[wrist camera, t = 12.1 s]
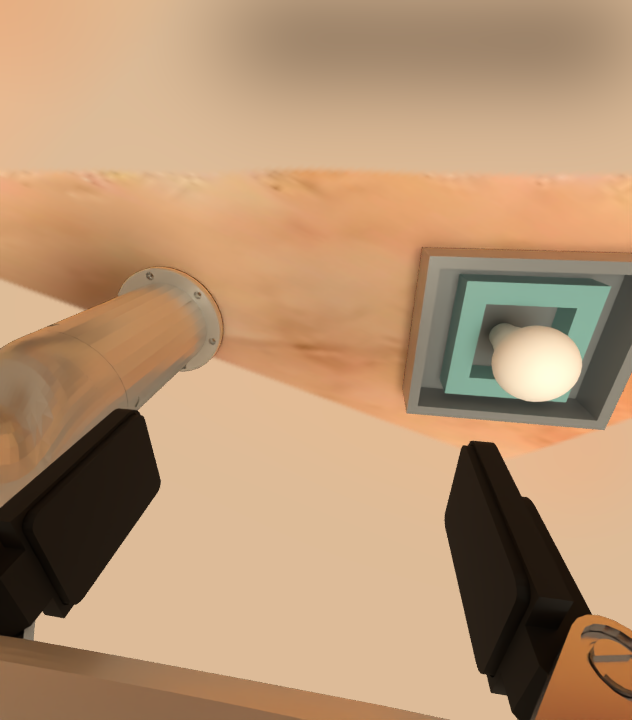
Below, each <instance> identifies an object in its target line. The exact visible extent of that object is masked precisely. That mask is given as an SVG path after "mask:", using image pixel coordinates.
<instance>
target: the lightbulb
mask: <svg viewBox="0 0 632 720" xmlns="http://www.w3.org/2000/svg"><path fill="white" fill-rule="evenodd" d="M489 340H490V342H491V343H492V345H493V349H494V353H493V356H492V363H491V365H492V371H493V375H494V377H495V380H496V381H497V382H498V384H499V385H500V386H501V388H502V389H504V390H505V391H506V392H507V393H509V394H510V395H512V396H514V397H516V398H519V399H522V400H525V401H531V402H542V401H549V400H552V399H555V398H558V397H560V396H562V395H564V394H565V393H566V392H568V391H569V390H570V389H571V388H572V387H573V386H574V385H575V383H576V382H577V381H578V378H579V376H580V373H581V369H582V358H581V355H580V352H579V349H578V347H577V346H576V344H575V343H574V342H573V340H572V339H571V338H569V337H568V336H567V335H566V334H564V333H562V332H561V331H559V330H557V329H554V328H551V327H546V326H527V327H523V328H520V327H515V326H513V325H511V324H508V323H501V324H498V325H496V326H495V327H493V328H492V330H491V331H490V334H489Z"/></svg>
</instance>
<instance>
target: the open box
mask: <svg viewBox="0 0 632 720" xmlns="http://www.w3.org/2000/svg"><path fill="white" fill-rule="evenodd" d="M501 323H508V324H511V325H513V326H515V327H520V328H523V327H527V326H546V327H551V328H554V329H557V330H559V331H561V332H562V333H564V334H566V335H567V336H568V337H569V338H571V339H572V340H573V342H574V343H575V344H576V346H577V347H578V349H579V352H580V355H581V358H582V369H581V373H580V376H579V378H578V381H577V382H576V383H575V385H574V386H573V387H572V388H571V389H570V390H569V391H568V392H566V393H565V394H564V395H562V396H560V397H558V398H555V399H552V400H549V401H542V402H531V401H525V400H522V399H519V398H516V397H514V396H512V395H510V394H509V393H507V392H506V391H505V390H504V389H502V388H501V386H500V385H499V384H498V382H497V381H496V380H495V377H494V375H493V371H492V365H491V363H492V356H493V353H494V349H493V345H492V343H491V342H490V340H489V334H490V331H491V330H492V328H493V327H495V326H496V325H498V324H501ZM631 373H632V253H615V252H577V251H540V250H503V249H465V248H428V247H422V251H421V258H420V265H419V273H418V280H417V287H416V295H415V302H414V309H413V316H412V324H411V331H410V338H409V345H408V353H407V360H406V367H405V374H404V382H403V395H404V401H405V407H406V413H409V414H421V415H433V416H445V417H456V418H468V419H480V420H492V421H504V422H516V423H527V424H539V425H551V426H563V427H575V428H586V429H598V430H605V428H606V426H607V424H608V422H609V419H610V417H611V415H612V413H613V411H614V409H615V407H616V405H617V402H618V400H619V398H620V396H621V394H622V392H623V390H624V388H625V385H626V383H627V381H628V379H629V377H630V375H631Z"/></svg>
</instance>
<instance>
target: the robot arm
mask: <svg viewBox="0 0 632 720" xmlns="http://www.w3.org/2000/svg"><path fill="white" fill-rule="evenodd" d="M199 292H200V294H201V295H200V294H199ZM222 336H223V324H222V319H221V314H220V312H219V309H218V307H217V305H216V303H215V301H214V300H213V298H212V296H211V295H210V294H209V292H208V291H207V290H206V289H205V288H204V287H203V286H202V285H201V284H200V283H199V282H198V281H196V280H195V279H194V278H192V277H191V276H189V275H187V274H186V273H183V272H181V271H178V270H176V269H172V268H167V267H152V268H147V269H144V270H141V271H139V272H136V273H135V274H133V275H131V276H130V277H129V278H128V279H127V280H126V281H125V282H124V283H123V284H122V286H121V288H120V290H119V292H118V296H117V297H116V298H114V299H111V300H109V301H107V302H104V303H102V304H100V305H97V306H95V307H92V308H90V309H88V310H85V311H83V312H81V313H78V314H76V315H74V316H71V317H69V318H66V319H64V320H61V321H59V322H57V323H54V324H52V325H50V326H47V327H45V328H43V329H40V330H38V331H36V332H33V333H30V334H28V335H26V336H23V337H21V338H18V339H16V340H14V341H12V342H10V343H8V344H7V345H5V346H3V347H2V348H0V720H448V719H443V718H438V717H434V716H429V715H424V714H420V713H415V712H410V711H406V710H401V709H396V708H391V707H387V706H382V705H377V704H371V703H366V702H361V701H356V700H351V699H345V698H340V697H335V696H330V695H325V694H319V693H314V692H309V691H303V690H298V689H293V688H287V687H282V686H278V685H272V684H267V683H262V682H256V681H251V680H245V679H240V678H235V677H230V676H224V675H219V674H214V673H208V672H203V671H197V670H192V669H186V668H181V667H176V666H170V665H165V664H160V663H154V662H149V661H143V660H138V659H132V658H126V657H121V656H116V655H110V654H105V653H99V652H94V651H88V650H82V649H77V648H71V647H66V646H60V645H54V644H48V643H43V642H38V641H33V639H34V627H35V620H36V618H37V617H38V616H39V615H40V613H41V612H42V611H43V613H44V614H45V615H49V616H55V617H60V618H65V617H66V615H67V614H68V612H69V611H70V610H71V608H72V607H73V605H76V604H78V603H79V602H80V601H81V600H82V599H83V598H84V597H85V595H86V594H87V592H88V591H89V589H90V588H91V587H92V585H93V584H94V582H95V581H96V580H97V578H98V577H99V575H100V574H101V572H102V571H103V570H104V568H105V566H106V565H107V564H108V562H109V561H110V559H111V558H112V557H113V555H114V553H115V552H116V551H117V549H118V548H119V547H120V545H121V544H122V542H123V541H124V539H125V538H126V537H127V535H128V534H129V532H130V531H131V530H132V528H133V527H134V525H135V524H136V522H137V521H138V520H139V518H140V517H141V515H142V514H143V512H144V511H145V510H146V508H147V507H148V505H149V504H150V502H151V501H152V499H153V498H154V497H155V495H156V494H157V492H158V491H159V488H160V483H161V480H160V476H159V472H158V468H157V464H156V460H155V457H154V453H153V449H152V445H151V441H150V438H149V434H148V430H147V426H146V422H145V419H144V417H143V416H141V415H140V413H139V412H138V411H137V410H138V409H139V408H140V407H142V406H143V404H145V403H146V402H147V401H148V400H149V399H150V398H151V397H152V396H153V395H154V394H155V393H156V392H157V391H158V390H159V389H161V388H162V386H164V385H165V384H166V383H167V382H168V381H169V380H170V379H171V378H172V377H173V376H174V375H175V374H176V373H177V372H179V371H190V370H194V369H197V368H200V367H201V366H203V365H204V364H206V363H207V362H208V361H209V360H210V359H211V358H212V357H213V356H214V355H215V353H216V352H217V351H218V349H219V346H220V344H221V341H222ZM214 339H215V340H214ZM445 528H446V533H447V537H448V541H449V546H450V550H451V555H452V559H453V563H454V568H455V572H456V576H457V581H458V585H459V589H460V594H461V599H462V603H463V607H464V611H465V616H466V621H467V625H468V629H469V634H470V638H471V643H472V647H473V652H474V655H475V660H476V664H477V668H478V670H479V672H480V673H481V674H486V675H487V678H488V682H489V687H490V691H491V693H495V694H501V695H507V696H508V700H509V704H510V707H511V711H512V713H513V714H514V715H515V716H516V717H517V720H632V631H631V630H630V629H629V628H626V627H625V626H623V625H621V624H619V623H618V622H616V621H614V620H611V619H609V618H606V617H602V616H599V615H592V614H591V612H590V610H589V608H588V606H587V604H586V602H585V600H584V598H583V597H582V595H581V593H580V591H579V589H578V587H577V585H576V583H575V581H574V579H573V577H572V576H571V574H570V572H569V570H568V568H567V566H566V564H565V562H564V560H563V559H562V557H561V555H560V553H559V551H558V549H557V547H556V545H555V543H554V542H553V539H552V538H551V536H550V534H549V532H548V530H547V528H546V526H545V524H544V522H543V521H542V519H541V517H540V515H539V513H538V511H537V509H536V507H535V505H534V504H533V502H532V501H531V500H530V499H529V498H527V497H522V496H521V495H520V493H519V490H518V488H517V486H516V485H515V482H514V480H513V479H512V476H511V475H510V472H509V470H508V469H507V466H506V465H505V462H504V460H503V458H502V456H501V454H500V452H499V450H498V448H497V446H496V445H495V444H494V443H491V442H480V441H470V443H469V445H468V446H465V445H464V446H462V448H461V452H460V456H459V460H458V464H457V468H456V472H455V476H454V480H453V484H452V488H451V492H450V496H449V500H448V504H447V508H446V512H445Z"/></svg>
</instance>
